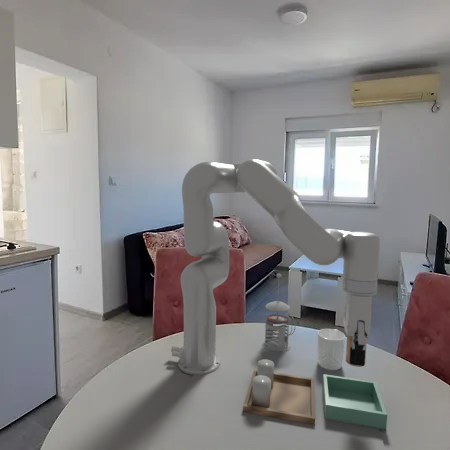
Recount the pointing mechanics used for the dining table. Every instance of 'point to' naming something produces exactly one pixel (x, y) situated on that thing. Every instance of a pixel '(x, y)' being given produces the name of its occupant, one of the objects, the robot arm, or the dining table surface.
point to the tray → (286, 399)
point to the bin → (353, 401)
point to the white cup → (330, 348)
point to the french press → (281, 340)
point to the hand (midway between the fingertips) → (355, 358)
